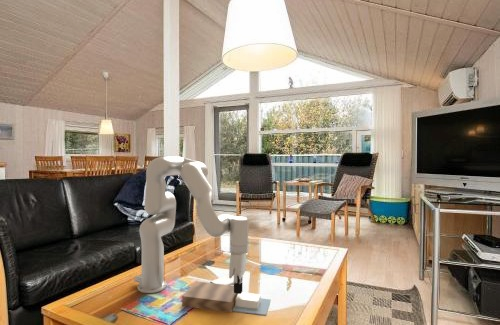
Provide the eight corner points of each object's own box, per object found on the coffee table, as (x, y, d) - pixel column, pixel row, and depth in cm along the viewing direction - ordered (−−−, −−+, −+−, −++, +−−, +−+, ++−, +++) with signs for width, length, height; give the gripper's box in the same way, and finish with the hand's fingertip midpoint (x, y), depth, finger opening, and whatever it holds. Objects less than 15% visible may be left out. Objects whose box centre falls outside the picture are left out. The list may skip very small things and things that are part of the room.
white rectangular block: (235, 306, 118) (235, 298, 118) (239, 299, 124) (239, 291, 124) (257, 309, 116) (257, 301, 116) (260, 301, 122) (260, 294, 122)
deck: (182, 305, 118) (182, 296, 118) (195, 290, 132) (196, 281, 132) (230, 312, 114) (231, 302, 114) (239, 295, 128) (239, 286, 128)
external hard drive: (210, 284, 139) (229, 276, 148) (221, 290, 134) (241, 281, 143) (210, 281, 139) (229, 273, 148) (221, 286, 134) (241, 278, 143)
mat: (232, 311, 115) (232, 310, 115) (240, 296, 127) (240, 295, 127) (265, 315, 112) (266, 314, 112) (270, 300, 124) (270, 299, 124)
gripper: (234, 241, 128) (233, 283, 129) (224, 252, 113) (223, 300, 114) (251, 243, 127) (250, 285, 127) (243, 254, 112) (242, 302, 112)
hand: (238, 292), depth 121 cm, fingers closed
